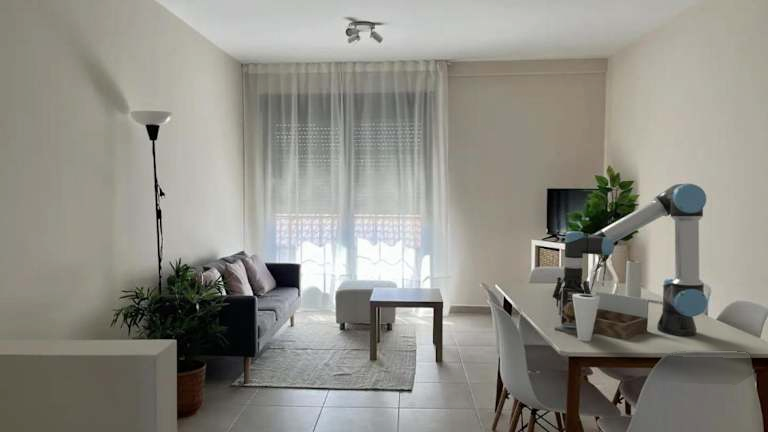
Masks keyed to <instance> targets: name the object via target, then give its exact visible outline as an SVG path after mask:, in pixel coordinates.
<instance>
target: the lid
mask: <svg viewBox="0 0 768 432" xmlns="http://www.w3.org/2000/svg"><path fill="white" fill-rule="evenodd" d="M595 295H597V296H599V297H600V300H599V305H598V309H603V310H608V311H613V312H618V313H624V314H629V315H634V316H639V317H644V318H648V319H649V299H647V298H642V297H641V298H635V297H629V296H625V295H622V294H617V293H609V292H603V291H598V290H596V291H595Z"/></svg>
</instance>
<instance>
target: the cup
mask: <svg viewBox="0 0 768 432" xmlns="http://www.w3.org/2000/svg"><path fill="white" fill-rule="evenodd" d="M572 296H573V304H574V309H575V310H574V311H575V318H576V324H577V333H578V334H577V339H578V340H579V341H582V342H591V341H592V336H593V333H594V332H593V328H594V327H593V326H594V323H595V318H596V314H597V310H598V305H599V300H600V297H599V296H597V295H596V294H592V293H591V294H585V293H584V294H573V295H572Z"/></svg>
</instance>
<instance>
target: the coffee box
mask: <svg viewBox="0 0 768 432" xmlns="http://www.w3.org/2000/svg"><path fill="white" fill-rule="evenodd" d="M561 290H562V296H561V315H559V317H560V320H559V323H560V326H573V327H577V324H576V318H575V311H574V310H575V309H574V304H573V296H572V295H573V294H579V290H576V289H573V288H563V286H561ZM580 291H581V292H582V294H585V291H584V287H582V290H580Z"/></svg>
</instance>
